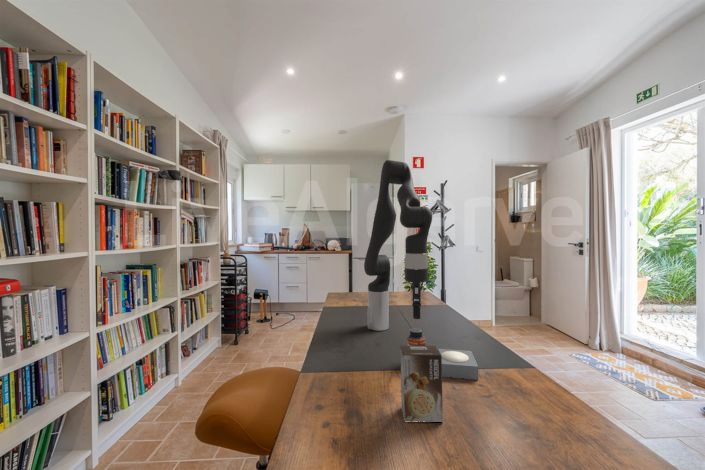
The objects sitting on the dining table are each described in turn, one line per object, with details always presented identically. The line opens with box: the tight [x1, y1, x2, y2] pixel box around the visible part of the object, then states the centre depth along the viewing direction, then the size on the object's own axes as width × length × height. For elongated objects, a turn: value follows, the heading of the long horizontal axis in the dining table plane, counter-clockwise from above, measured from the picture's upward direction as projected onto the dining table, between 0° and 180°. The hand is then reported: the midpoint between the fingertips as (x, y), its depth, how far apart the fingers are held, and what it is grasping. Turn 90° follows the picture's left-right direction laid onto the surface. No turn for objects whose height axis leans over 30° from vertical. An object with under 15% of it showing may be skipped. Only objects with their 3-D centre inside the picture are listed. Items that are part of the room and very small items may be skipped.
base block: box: [437, 348, 479, 381], centre depth 99 cm, size 12×12×4 cm
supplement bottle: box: [406, 328, 426, 346], centre depth 103 cm, size 6×6×11 cm
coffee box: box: [399, 344, 444, 423], centre depth 75 cm, size 9×6×16 cm
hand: (416, 315), depth 103 cm, fingers open, 8 cm apart
